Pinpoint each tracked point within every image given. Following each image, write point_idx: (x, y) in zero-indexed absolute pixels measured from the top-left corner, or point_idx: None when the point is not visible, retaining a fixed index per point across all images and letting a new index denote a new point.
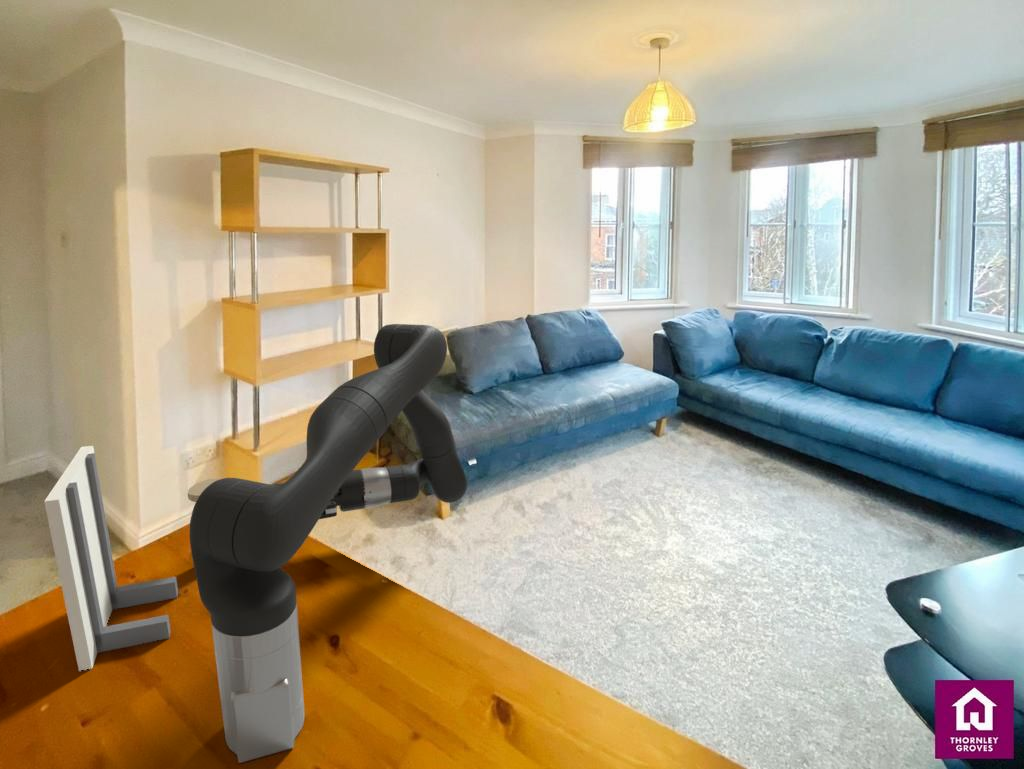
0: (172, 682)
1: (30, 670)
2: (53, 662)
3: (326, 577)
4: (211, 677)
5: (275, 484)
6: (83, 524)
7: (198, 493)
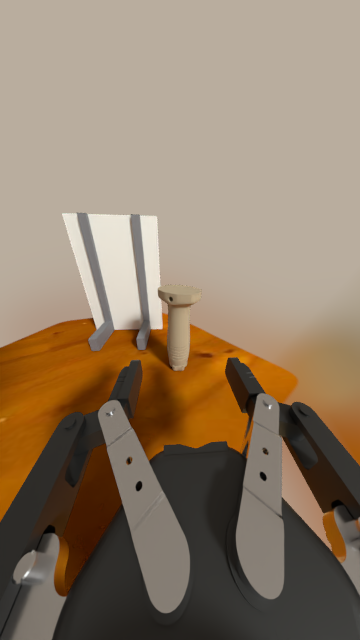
0: (41, 356)
1: None
2: None
3: None
4: (13, 375)
5: (237, 359)
6: (92, 249)
7: (164, 287)
